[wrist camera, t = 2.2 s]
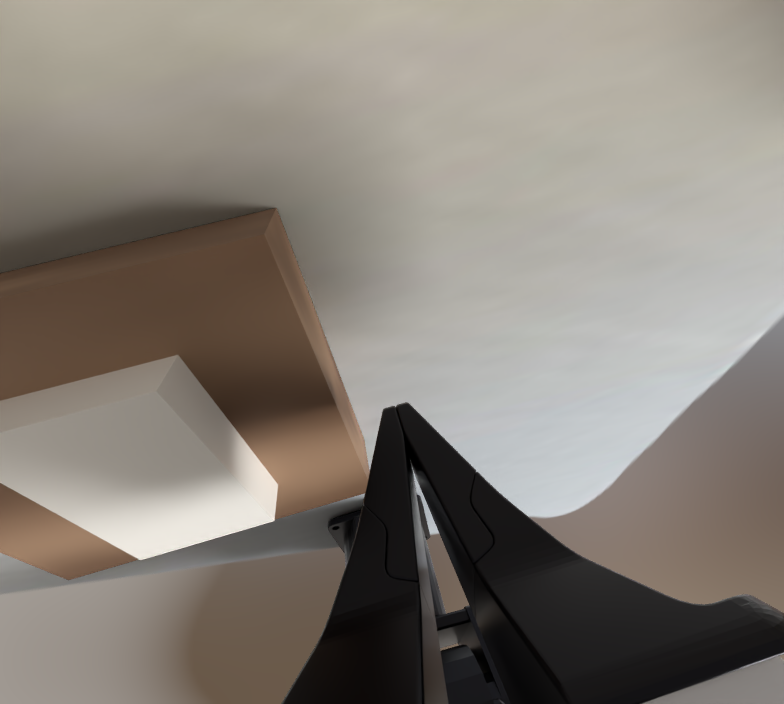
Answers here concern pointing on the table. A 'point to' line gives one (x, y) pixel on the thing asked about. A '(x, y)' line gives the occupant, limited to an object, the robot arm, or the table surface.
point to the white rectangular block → (135, 459)
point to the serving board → (197, 350)
